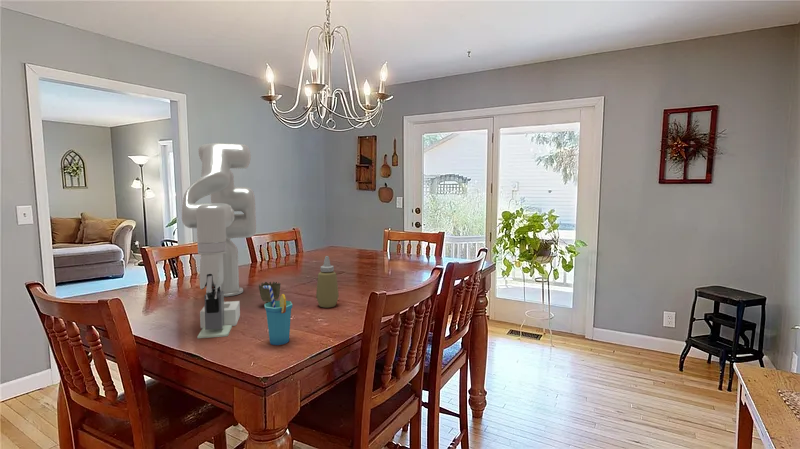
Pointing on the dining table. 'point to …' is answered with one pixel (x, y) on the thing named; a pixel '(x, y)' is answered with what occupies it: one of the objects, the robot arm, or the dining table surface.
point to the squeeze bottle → (327, 285)
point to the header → (225, 313)
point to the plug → (215, 314)
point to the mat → (215, 332)
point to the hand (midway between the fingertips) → (214, 309)
